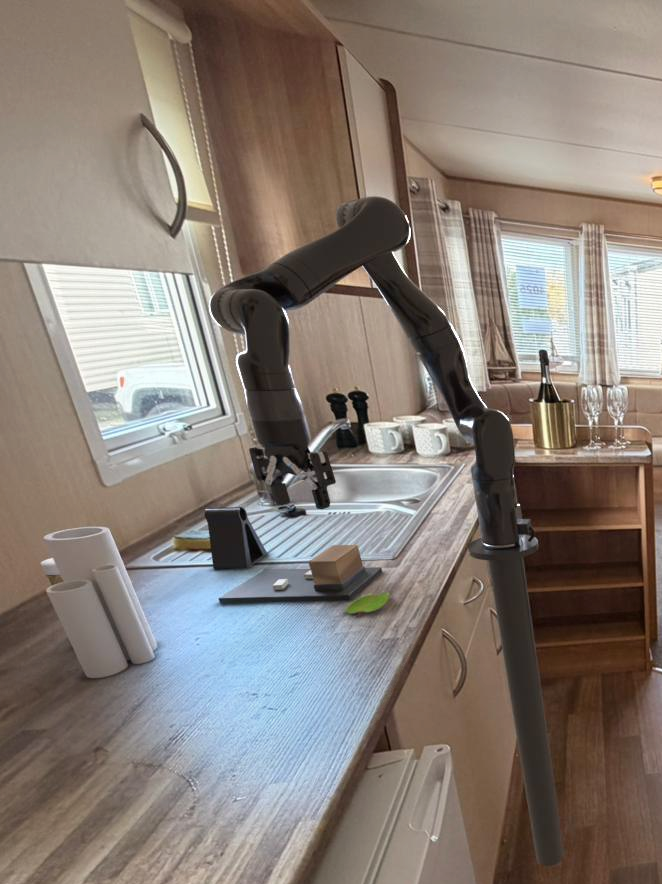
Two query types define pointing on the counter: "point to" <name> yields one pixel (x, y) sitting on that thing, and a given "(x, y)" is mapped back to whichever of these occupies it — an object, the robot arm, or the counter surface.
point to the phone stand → (233, 538)
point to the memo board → (293, 588)
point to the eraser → (336, 567)
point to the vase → (98, 602)
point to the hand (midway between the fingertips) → (303, 506)
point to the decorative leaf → (368, 603)
